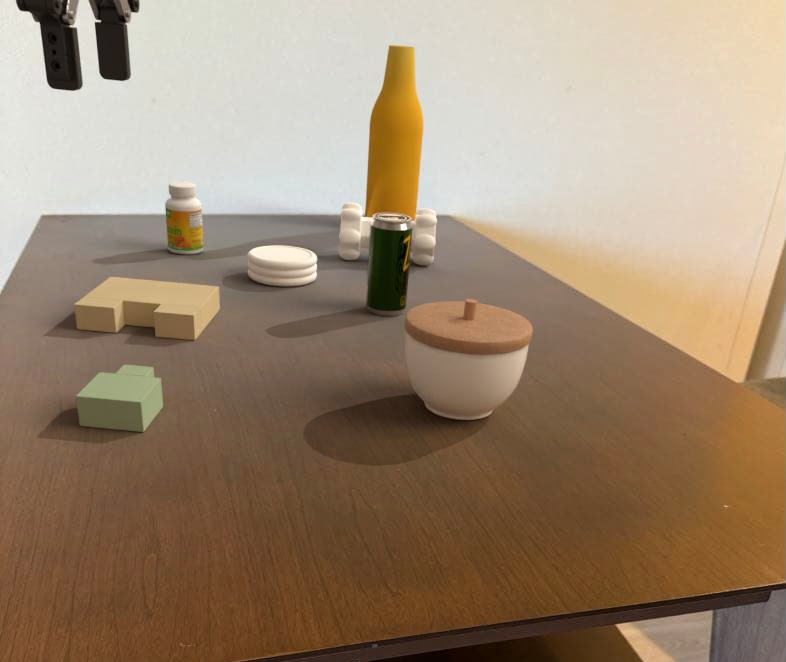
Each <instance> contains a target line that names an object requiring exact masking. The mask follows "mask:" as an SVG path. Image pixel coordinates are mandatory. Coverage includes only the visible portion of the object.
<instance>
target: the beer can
mask: <svg viewBox="0 0 786 662" xmlns="http://www.w3.org/2000/svg"><path fill="white" fill-rule="evenodd" d="M412 228H413V227H412V224H411V217H409V216H407V215H403V214H397V213H377V214H374V215H373V220H372V222H371V224H370V242H369V248H368V261H367V278H366V279H367V280H366V297H365V298H366V299H365V305H366V307H367V310H368V312H369V313H371V314H374V315H376V316H377V315H378V316H381V317H396V316H400V315H402V314H403V313H404V312H405V311H406V308H407V302H408V300H407V299H408V288H409V274H410V264H411V253H412V252H411V240H412Z"/></svg>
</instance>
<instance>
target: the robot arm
mask: <svg viewBox="0 0 786 662" xmlns="http://www.w3.org/2000/svg"><path fill="white" fill-rule="evenodd" d="M15 3H16V6H17V8H18V10H19V11H20V12H28V13H30V14H31V17H32V19H33V21H34V22H35V23H39V28H40V37H41V43H42V44H41V45H42V54H43V61H44V66H45V67H44V68H45V77H46V82H47V85H48V86H49V87H50V88H51V89H53V90H61V91H69V92H75V91H79V90H81V89H82V88H83V85H84V84H83V74H82V73H83V72H82V64H81V52H80V43H79V35H78V27H74V25H75V24H76V20H77V14H78V9H79V3H80V0H15ZM140 3H141V2H140V0H88V4H89V5H90V8H91V11H92V14H93V17H94V19H95V20H96V21H94V30H95V41H96V42H95V43H96V51H97V53H96V54H97V61H98V72H99V75H100V77H101V78H102V79H103V80H109V81H118V82H126V81H128V80H130V78H131V77H132V72H131V57H130V46H129V45H130V44H129V32H128V24H130V23H131V21H132V13H134V14H138V13H139V12H140V5H141V4H140Z"/></svg>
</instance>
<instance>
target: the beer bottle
mask: <svg viewBox="0 0 786 662" xmlns="http://www.w3.org/2000/svg"><path fill="white" fill-rule="evenodd" d="M415 49H416V47H414V46H409V45H408V46H407V45H395V44H389V45H388V50H387V57H386V65H385V69H384V77H383V83H382V87H381V90H380V92H379V94H378V96H377V98H376V100H375V103H374V105H373V107H372V111H371V114H370V118H369V119H370V120H369V132H368V133H369V134H368V153H367V154H368V155H367V170H366V171H367V173H366V192H365V193H366V194H365V207H364V217H369V218H373V215H374V214H377V213H397V214H403V215H407V216H409V217H411V221H415V214H416V212H417V211H418V210H417V209H418V198H419V197H418V196H419V195H418V193H419V184H420V172H421V160H422V146H423V135H424V116H423V115H424V114H423V111H422V107H421V102H420V100H419V97H418V93H417V89H416V87H417V86H416V50H415Z"/></svg>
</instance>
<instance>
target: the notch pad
mask: <svg viewBox="0 0 786 662" xmlns="http://www.w3.org/2000/svg"><path fill="white" fill-rule="evenodd" d="M73 305H74V306H73V307H74V314H75V323H76V329H77V330H79V331H80V330H81V331H92V332H102V333H103V332H104V333H114V334H117V333H118V332H119V331H120V330H121V329H122V328H123V327H124V326H133V327H144V328H153V329H154V335H155V337H156V338H164V339H165V338H167V339H177V340H185V341H187V340H188V341H196V340H197V338H198V337H199V336H200V335H201V334H202V332H203V331H204V330H205V329H206V328H207V326H208V325H209V324H210V322H211V321H212V320H213V319H214V317H215V316H216V315H217V314H218V313H219V311H220V310H221V302H220V286H216V285H206V284H197V283H194V284H193V283H186V282H185V283H184V282H174V281H165V280H163V281H161V280H153V279H142V278H141V279H140V278H130V277H119V276H109V277H108V278H107V279H105V280H104V281H103V282H101V283H100V284H98V286H96V287H95V288H94V289H92V290H91V291H90V292H88V293H87V294H85V295H84V296H83V297H82V298H80V299H79V300H77V301H76V302H75V303H74V304H73Z"/></svg>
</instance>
